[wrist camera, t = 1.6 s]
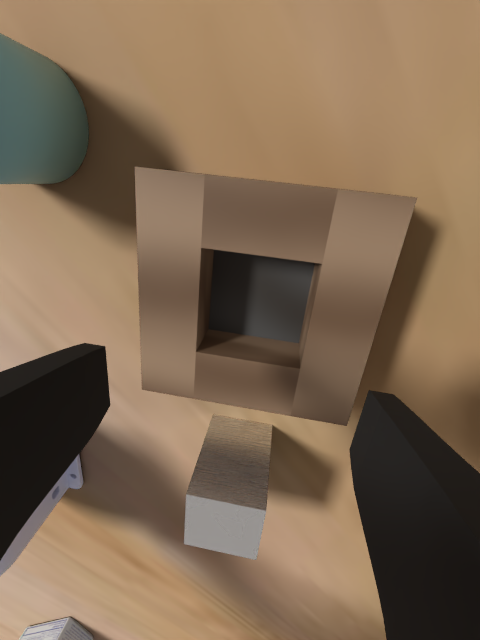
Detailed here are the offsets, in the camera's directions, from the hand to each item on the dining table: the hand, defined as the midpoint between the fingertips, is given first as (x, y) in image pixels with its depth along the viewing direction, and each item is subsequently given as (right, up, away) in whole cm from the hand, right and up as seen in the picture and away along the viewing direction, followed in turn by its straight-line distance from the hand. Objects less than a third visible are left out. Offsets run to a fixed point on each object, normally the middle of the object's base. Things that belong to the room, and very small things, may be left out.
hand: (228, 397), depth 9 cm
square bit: (0, -6, +13) cm, 15 cm away
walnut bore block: (+1, +4, +9) cm, 9 cm away
